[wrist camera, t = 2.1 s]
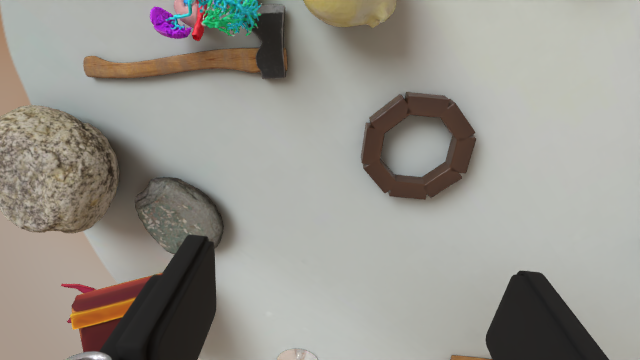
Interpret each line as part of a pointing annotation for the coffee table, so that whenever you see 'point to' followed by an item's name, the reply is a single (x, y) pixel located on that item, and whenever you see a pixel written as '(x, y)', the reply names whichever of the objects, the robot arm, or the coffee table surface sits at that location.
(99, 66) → the axe
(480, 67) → the coffee table surface
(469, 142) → the ring
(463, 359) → the wooden peg stand
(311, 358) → the wineglass
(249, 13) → the anatomy model
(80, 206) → the stone
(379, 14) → the fruit
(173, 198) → the stone
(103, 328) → the book monster
